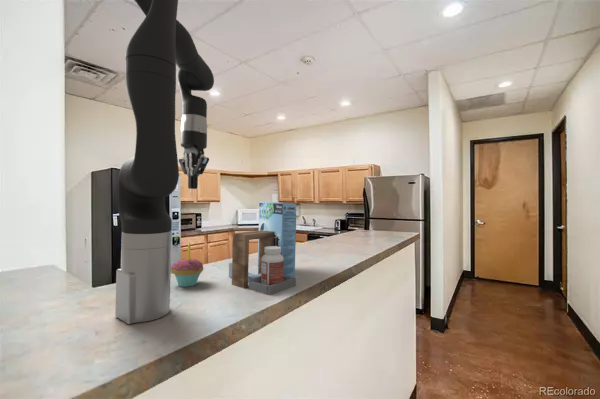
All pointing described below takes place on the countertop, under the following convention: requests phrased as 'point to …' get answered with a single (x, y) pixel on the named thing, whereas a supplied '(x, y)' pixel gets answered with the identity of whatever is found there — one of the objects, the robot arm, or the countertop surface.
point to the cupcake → (187, 270)
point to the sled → (250, 276)
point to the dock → (273, 286)
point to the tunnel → (247, 254)
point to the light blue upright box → (281, 230)
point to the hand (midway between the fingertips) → (192, 188)
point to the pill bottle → (272, 266)
